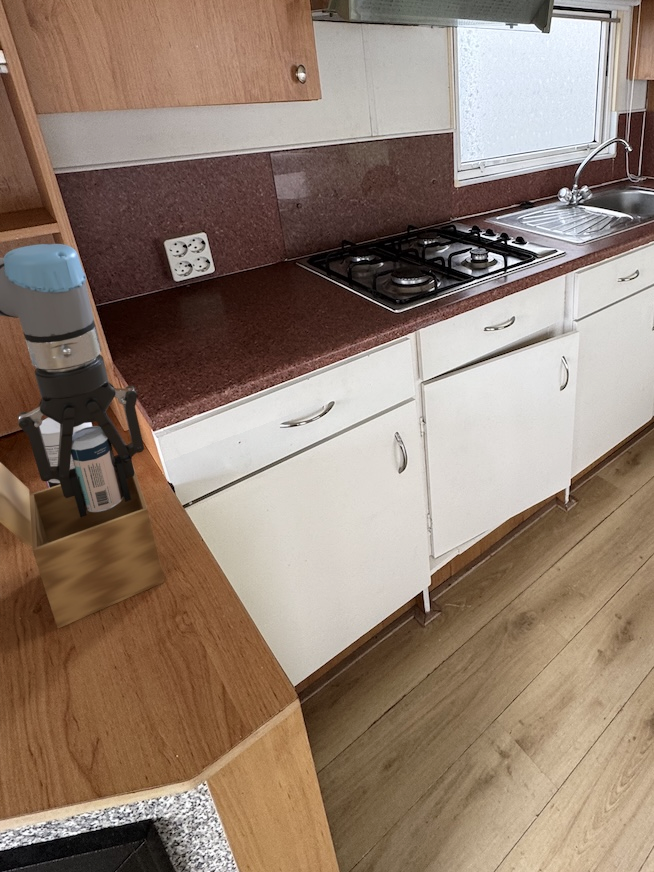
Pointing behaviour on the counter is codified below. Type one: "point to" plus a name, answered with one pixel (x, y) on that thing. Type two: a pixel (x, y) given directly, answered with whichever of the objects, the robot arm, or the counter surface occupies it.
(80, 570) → the open box
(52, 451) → the supplement can
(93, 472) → the beer can
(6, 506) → the flap
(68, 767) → the counter surface
